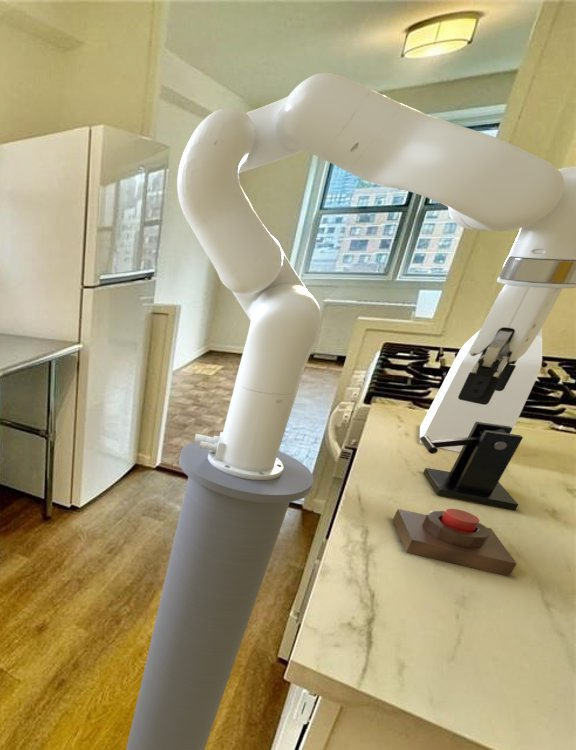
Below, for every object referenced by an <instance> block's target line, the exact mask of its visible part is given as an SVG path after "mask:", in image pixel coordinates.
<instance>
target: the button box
mask: <svg viewBox="0 0 576 750" xmlns="http://www.w3.org/2000/svg"><path fill="white" fill-rule="evenodd" d="M445 511H446V510H432V511H429V513H428V514H424V513H419V512H413V511H410V510H404V509H401V508H397V510H396V512H395V514H394V516H393V518H392V523H393V525H394V528H395V529H396V532H397V534H398V536H399V539H400V541H401V543H402V545H403V548H404V550H405V552H406V553H409V554H413V555H415V556H416V555H417V556H422V557H426V558H430V559H434V560H438V561H442V562H447V563H450V564H455V565H458V566H459V565H460V566H463V567H468V568H472V569H477V570H480V571H484V572H488V573H493V574H496V575H500V576H505V577H510V576H511V574H512V572H513V571H514V569H515V568H516V566H517V565H518V563H517V561H516V560H515V559H514V558H513V556H512V555H511V553H510V552H509V551H508V549H507V548H506V547H505V545H504V544H503V542H502V541H501V540H500V538H499V537H498V536H497V534H496V533H495V531H494V530H493V529H492V528H491V527H487V526H486V525H484V524H482V523H480V522H479V523H478V525H477V527H476V529H475V531H474V532H469V533H468V532H464V531H459V530H456V529H453V528H451V527H448V526H446V525H445V524H443V523H442V522H441V521H440V520H441V518H442V516H443V514H444V512H445Z"/></svg>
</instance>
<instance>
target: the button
mask: <svg viewBox="0 0 576 750" xmlns="http://www.w3.org/2000/svg"><path fill="white" fill-rule="evenodd" d="M444 511H445V512H444V514H443V516H442V518H441V520H440V521H441V522H442V523H443V524H445V525H446V526H448V527H451V528H453V529H456V530H459V531H464V532H468V533H469V532H474V531H475V529H476V527H477V525H478V523H480V518H478V517H477V515H474V514H473V513H471V512H469V511H465V510H461V509H457V508H447V509H445V510H444Z"/></svg>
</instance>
